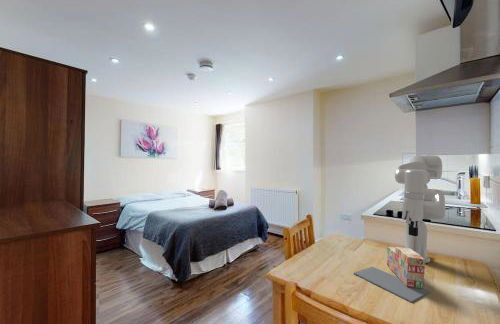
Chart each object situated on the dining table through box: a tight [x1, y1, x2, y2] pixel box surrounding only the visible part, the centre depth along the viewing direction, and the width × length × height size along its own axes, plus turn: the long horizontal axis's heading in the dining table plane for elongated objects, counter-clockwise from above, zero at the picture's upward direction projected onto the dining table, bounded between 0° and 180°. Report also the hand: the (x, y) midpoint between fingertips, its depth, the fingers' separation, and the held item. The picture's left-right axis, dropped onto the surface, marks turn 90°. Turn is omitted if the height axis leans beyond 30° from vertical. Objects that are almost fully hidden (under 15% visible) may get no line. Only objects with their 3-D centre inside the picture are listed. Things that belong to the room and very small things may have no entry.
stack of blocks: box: [386, 246, 426, 289], centre depth 103 cm, size 21×6×12 cm, turn 168°
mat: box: [353, 266, 431, 304], centre depth 98 cm, size 14×24×1 cm, turn 29°
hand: (413, 235), depth 106 cm, fingers closed
